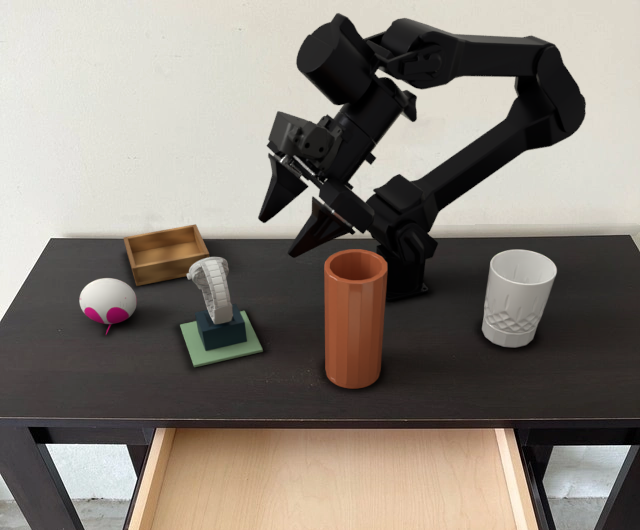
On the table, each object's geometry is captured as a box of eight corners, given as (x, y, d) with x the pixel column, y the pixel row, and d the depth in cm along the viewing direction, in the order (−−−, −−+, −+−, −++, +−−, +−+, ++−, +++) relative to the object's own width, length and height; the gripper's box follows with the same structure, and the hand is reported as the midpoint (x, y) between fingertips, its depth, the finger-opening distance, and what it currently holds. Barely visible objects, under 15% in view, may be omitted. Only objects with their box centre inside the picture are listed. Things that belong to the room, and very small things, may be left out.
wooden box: (198, 241, 104) (195, 223, 102) (211, 271, 98) (209, 253, 96) (127, 254, 102) (123, 237, 100) (136, 286, 96) (132, 268, 94)
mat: (244, 312, 91) (244, 310, 90) (262, 351, 85) (262, 349, 85) (180, 326, 89) (179, 324, 88) (194, 367, 83) (193, 365, 83)
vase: (367, 348, 85) (372, 244, 74) (388, 381, 81) (397, 275, 70) (318, 360, 83) (316, 255, 73) (336, 394, 79) (337, 288, 68)
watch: (234, 314, 90) (225, 242, 82) (250, 349, 85) (242, 275, 77) (194, 323, 89) (180, 251, 81) (208, 359, 83) (195, 285, 75)
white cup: (499, 307, 91) (514, 242, 84) (550, 332, 87) (569, 266, 80) (465, 332, 87) (477, 266, 80) (516, 359, 83) (533, 292, 76)
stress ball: (90, 345, 91) (68, 330, 85) (94, 290, 93) (73, 271, 86) (143, 344, 91) (125, 329, 84) (146, 289, 92) (129, 270, 86)
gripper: (277, 58, 76) (199, 171, 80) (352, 113, 64) (256, 242, 69) (337, 117, 84) (264, 216, 88) (414, 175, 72) (324, 287, 77)
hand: (275, 237), depth 80 cm, fingers open, 9 cm apart
